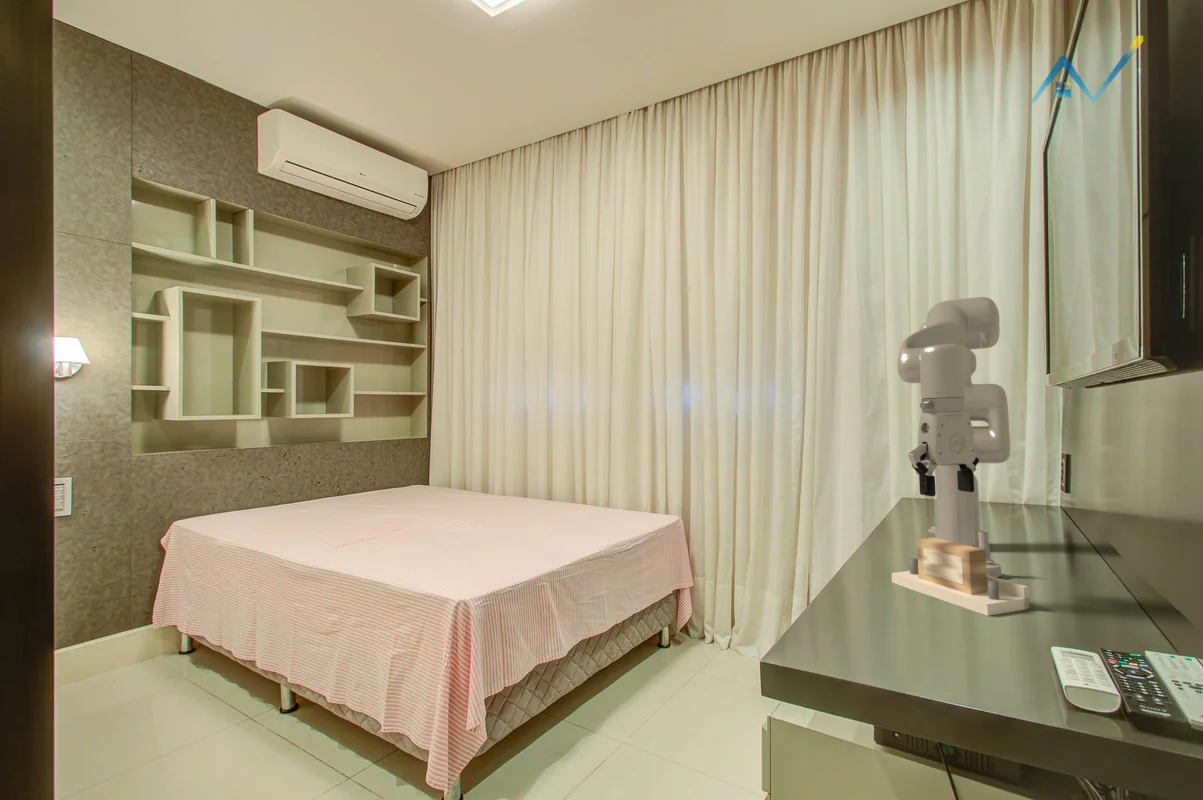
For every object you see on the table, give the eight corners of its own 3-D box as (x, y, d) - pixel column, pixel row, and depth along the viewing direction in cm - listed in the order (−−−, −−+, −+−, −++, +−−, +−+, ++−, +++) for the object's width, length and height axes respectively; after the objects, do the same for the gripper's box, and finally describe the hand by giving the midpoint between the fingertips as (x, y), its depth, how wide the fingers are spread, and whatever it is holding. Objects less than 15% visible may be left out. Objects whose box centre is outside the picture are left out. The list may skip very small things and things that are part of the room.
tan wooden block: (918, 578, 120) (916, 539, 120) (933, 576, 121) (932, 537, 121) (970, 594, 109) (968, 551, 109) (987, 592, 110) (985, 549, 110)
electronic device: (933, 523, 140) (1002, 531, 127) (936, 564, 139) (1006, 576, 126) (920, 526, 137) (990, 534, 124) (923, 568, 136) (994, 581, 124)
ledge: (892, 582, 124) (891, 559, 124) (929, 577, 127) (928, 554, 127) (987, 615, 103) (986, 587, 103) (1029, 608, 106) (1028, 581, 106)
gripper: (924, 408, 110) (928, 500, 110) (993, 405, 115) (997, 492, 115) (893, 409, 117) (897, 494, 117) (960, 405, 122) (963, 487, 122)
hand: (947, 493), depth 116 cm, fingers open, 9 cm apart
